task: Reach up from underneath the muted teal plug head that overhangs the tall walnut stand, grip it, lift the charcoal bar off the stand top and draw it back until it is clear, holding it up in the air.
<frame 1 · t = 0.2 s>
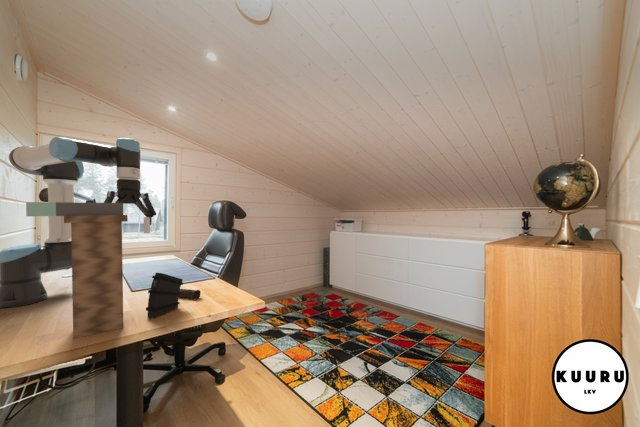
hand: (129, 234, 106), 28 cm above the table, tool pointing down, fingers open, 13 cm apart
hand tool: (179, 298, 119), on the table
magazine: (166, 312, 102), on the table
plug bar: (79, 215, 85), point 36 cm above the table, touching walnut stand
walnut stand: (99, 327, 88), on the table
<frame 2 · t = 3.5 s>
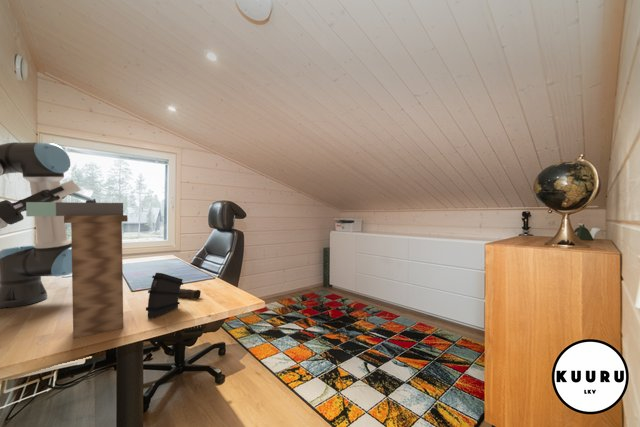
hand: (76, 185, 99), 47 cm above the table, tool pointing upward, fingers open, 13 cm apart
nothing on the table moved.
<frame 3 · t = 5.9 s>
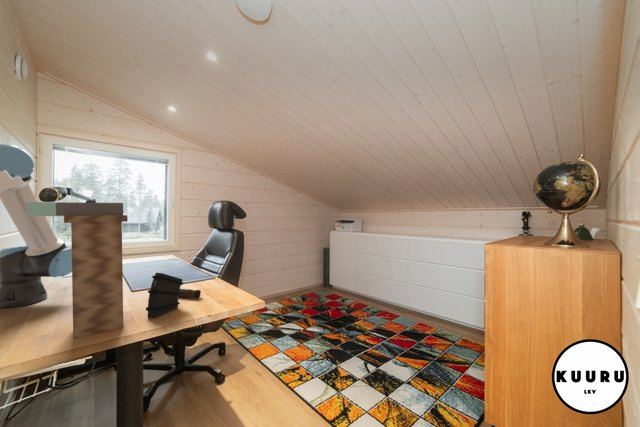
hand: (15, 177, 82), 48 cm above the table, tool pointing upward, fingers open, 13 cm apart
nothing on the table moved.
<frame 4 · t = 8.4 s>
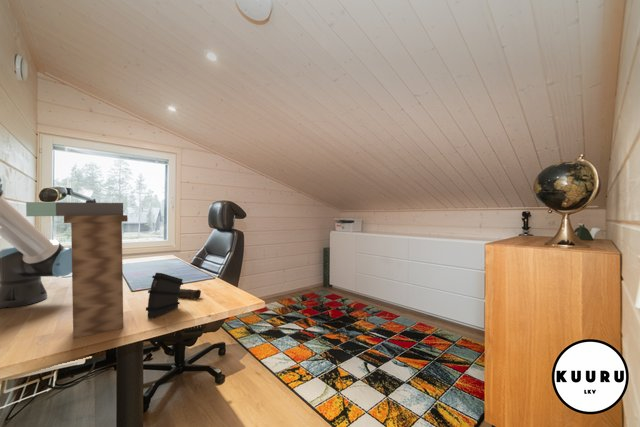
nothing on the table moved.
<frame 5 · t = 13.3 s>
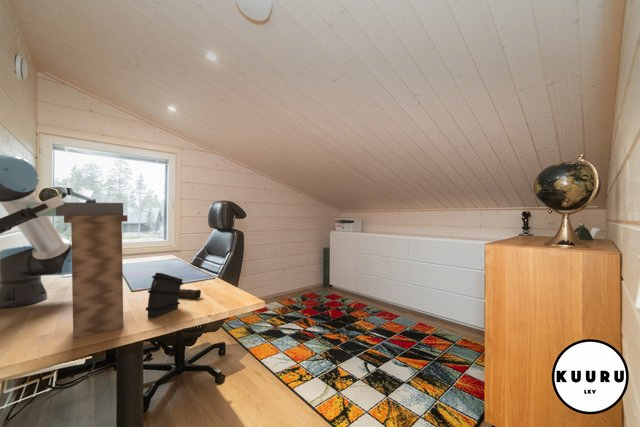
hand: (62, 200, 83), 41 cm above the table, tool pointing upward, fingers closed on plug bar, 4 cm apart
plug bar: (79, 215, 85), point 36 cm above the table, touching gripper, walnut stand
everything else where it was.
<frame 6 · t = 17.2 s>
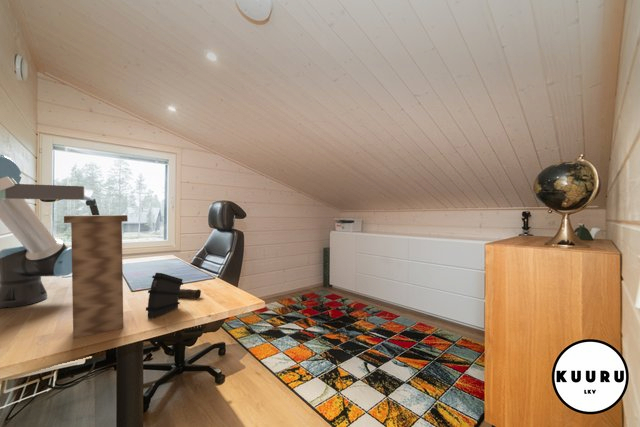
hand: (13, 181, 77), 46 cm above the table, tool pointing upward, fingers closed on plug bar, 4 cm apart
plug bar: (33, 198, 79), point 41 cm above the table, touching gripper
everything else where it was.
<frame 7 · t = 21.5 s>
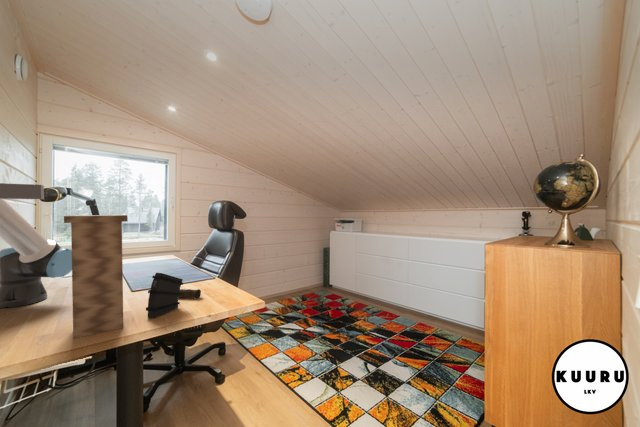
at the end: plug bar touching gripper; the gripper is holding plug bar; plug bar inside the target area (0.5 cm from its centre), point 41.0 cm above the table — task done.
